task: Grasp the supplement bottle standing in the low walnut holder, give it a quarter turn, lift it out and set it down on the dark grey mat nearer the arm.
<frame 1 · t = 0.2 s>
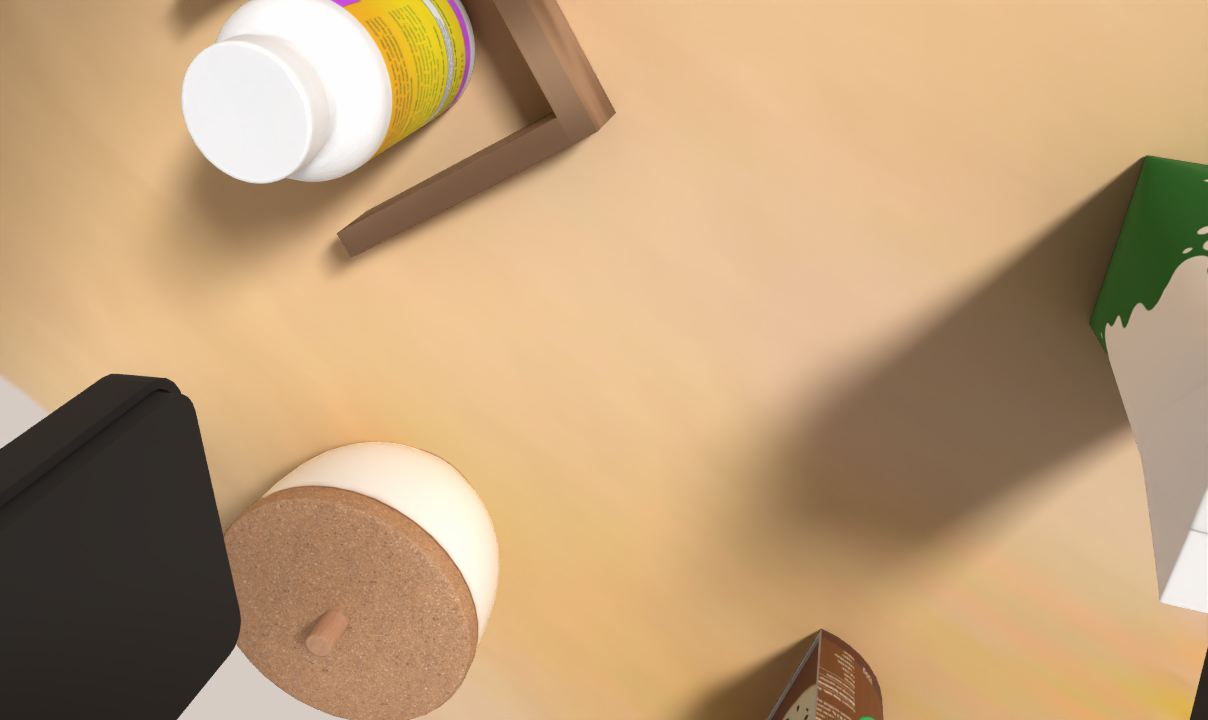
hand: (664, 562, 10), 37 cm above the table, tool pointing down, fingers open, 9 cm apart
lidded bowl: (418, 504, 59), on the table
supplement bottle: (407, 38, 48), on the table
food container: (839, 713, 58), on the table
milk carton: (1207, 258, 43), on the table
holder: (405, 40, 47), on the table
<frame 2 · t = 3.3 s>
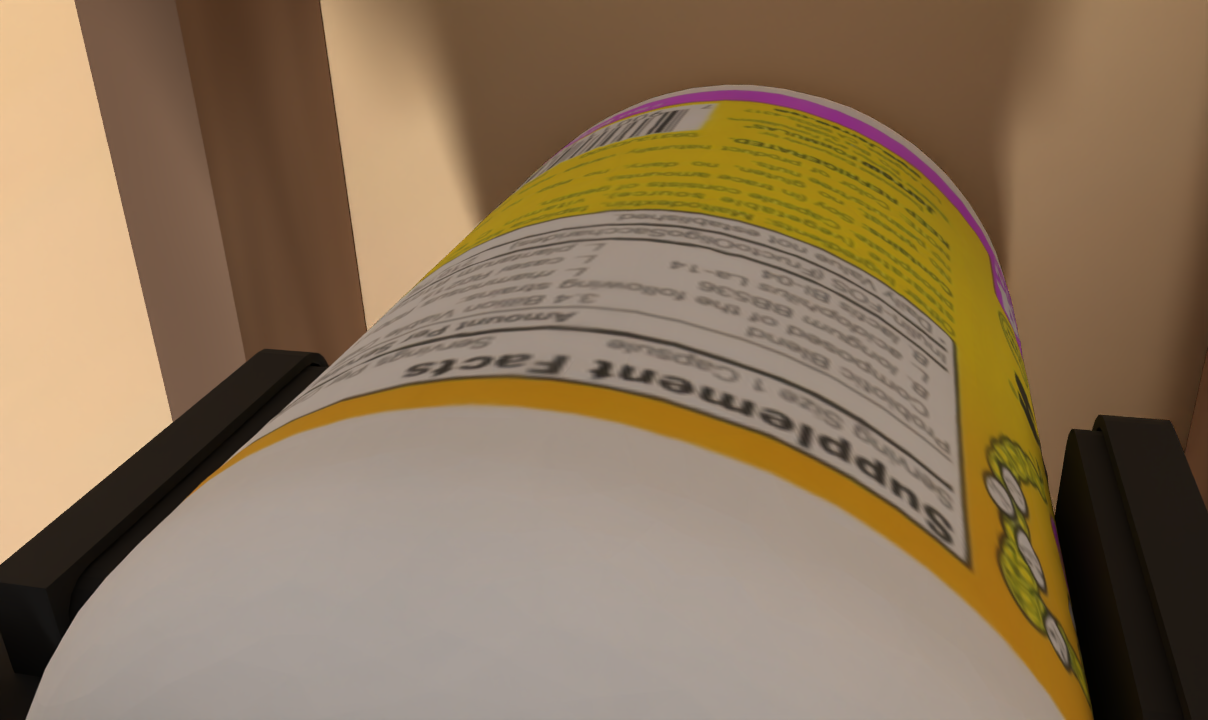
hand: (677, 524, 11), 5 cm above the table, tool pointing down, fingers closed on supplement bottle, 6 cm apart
supplement bottle: (748, 317, 15), on the table, touching gripper
holder: (746, 324, 15), on the table
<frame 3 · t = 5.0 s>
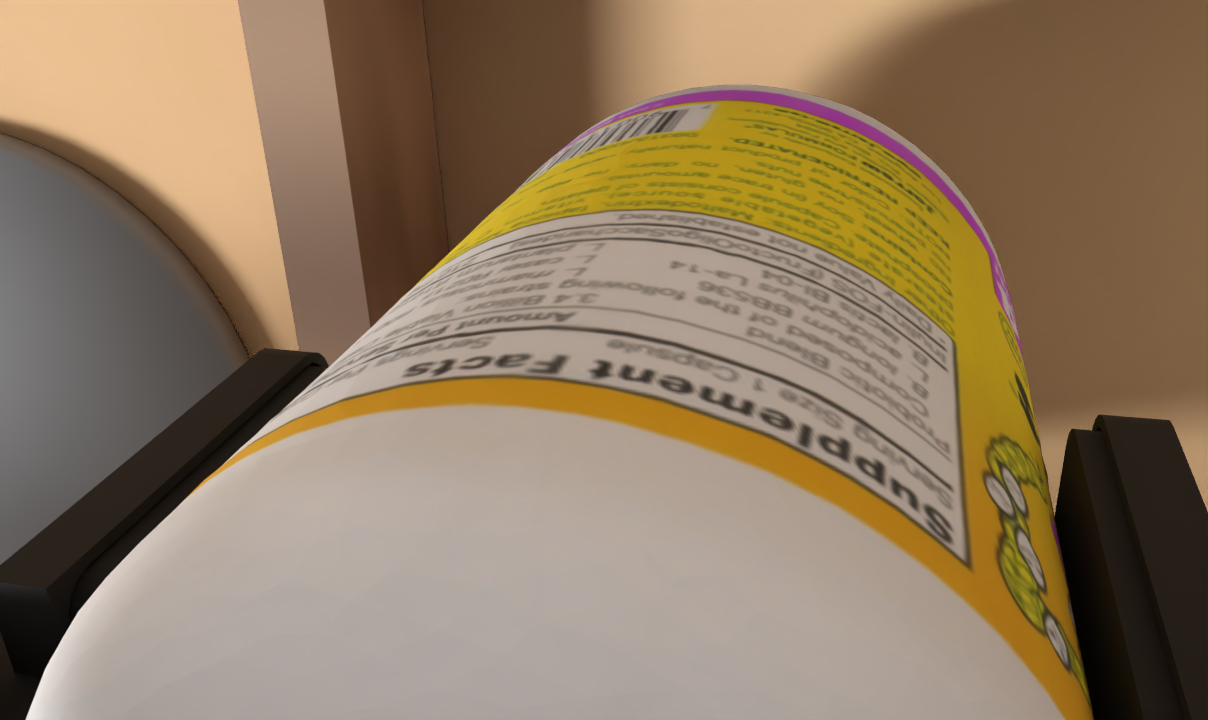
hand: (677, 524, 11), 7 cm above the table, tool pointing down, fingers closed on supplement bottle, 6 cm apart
supplement bottle: (748, 317, 15), point 3 cm above the table, touching gripper
mat: (22, 396, 22), on the table
holder: (785, 244, 17), on the table
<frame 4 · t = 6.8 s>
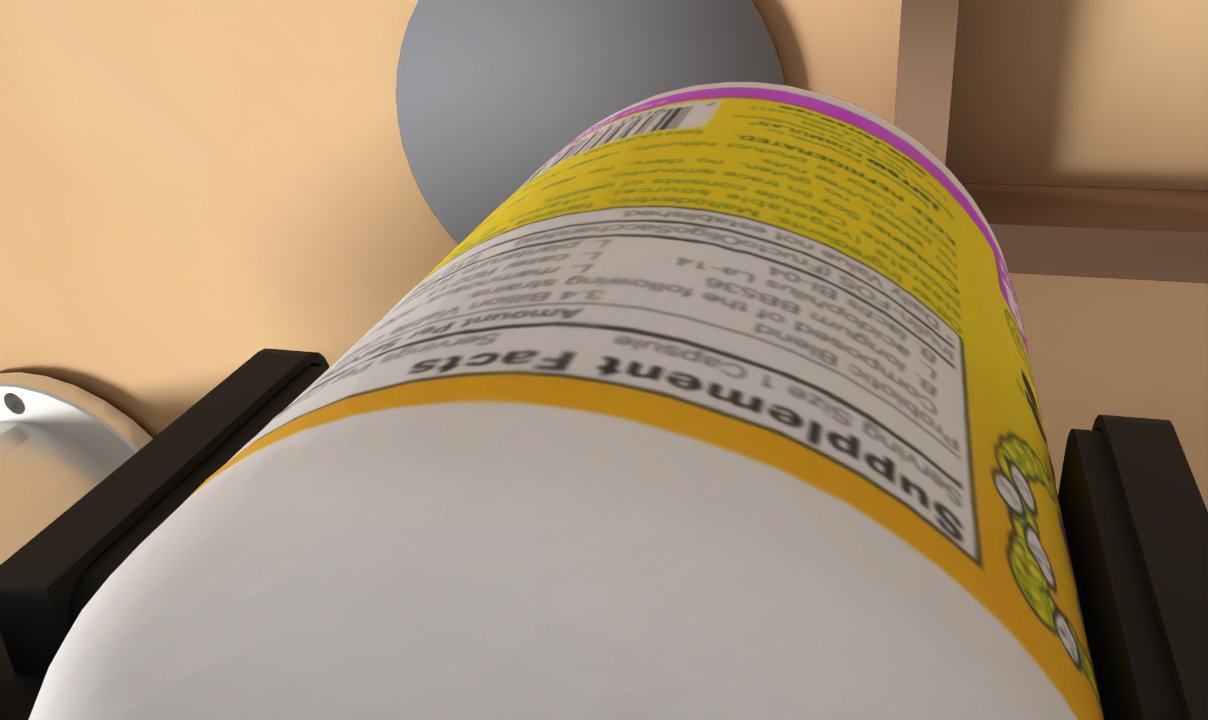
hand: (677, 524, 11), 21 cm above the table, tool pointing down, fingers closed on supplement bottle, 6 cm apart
supplement bottle: (752, 315, 15), point 16 cm above the table, touching gripper
mat: (588, 118, 31), on the table
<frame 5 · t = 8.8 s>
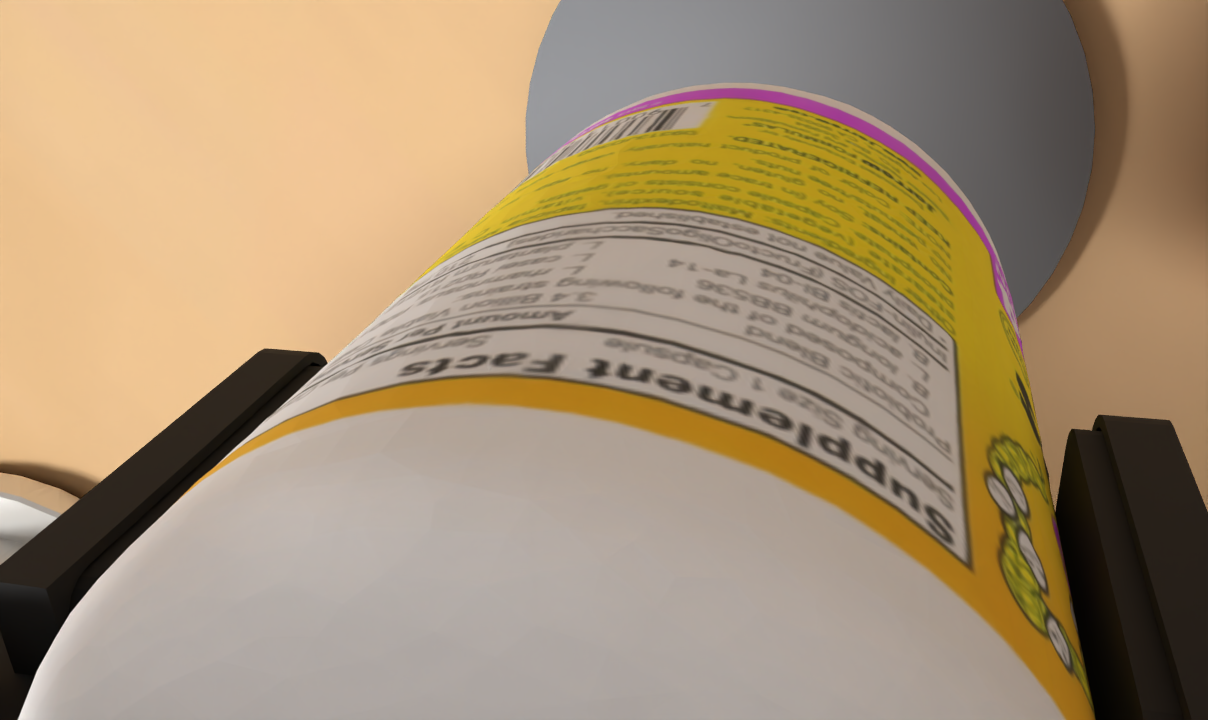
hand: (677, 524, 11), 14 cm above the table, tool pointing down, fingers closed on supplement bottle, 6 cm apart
supplement bottle: (747, 317, 15), point 9 cm above the table, touching gripper
mat: (795, 151, 23), on the table
when the fingers open (7 cm above the table, at t = 10.6 s): supplement bottle drops 1 cm, resting on mat.
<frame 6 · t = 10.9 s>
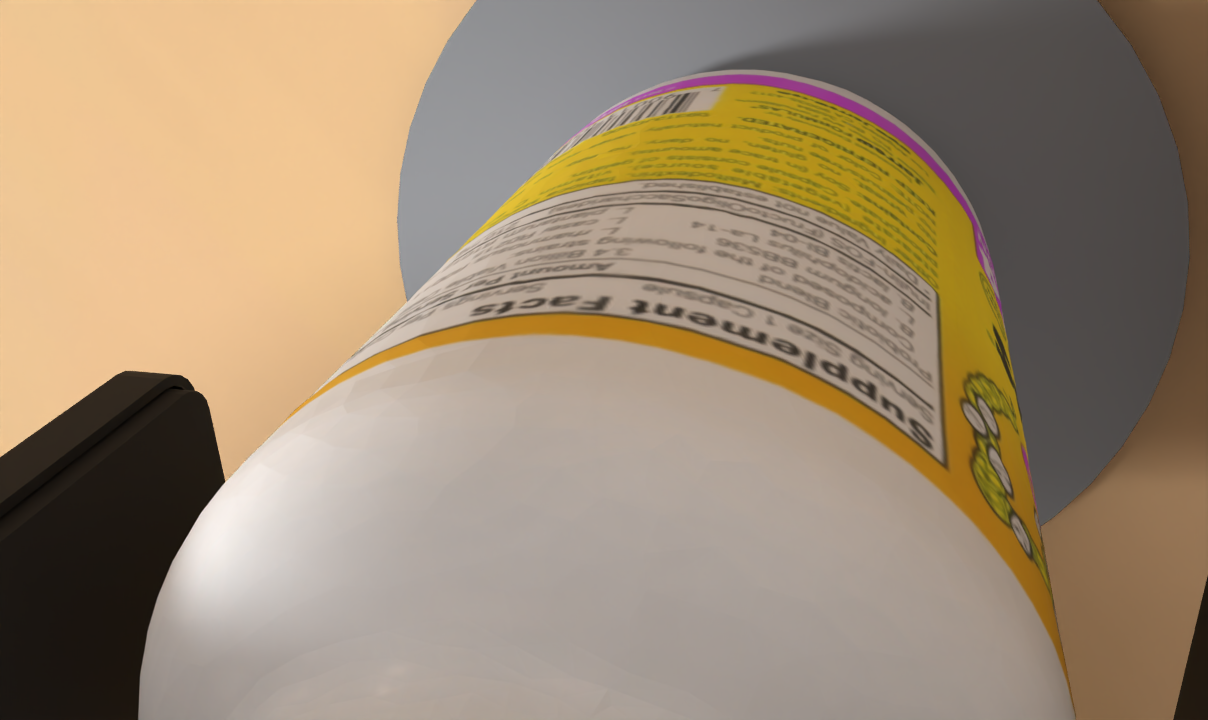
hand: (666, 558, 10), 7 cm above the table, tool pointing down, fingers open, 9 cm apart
supplement bottle: (752, 285, 16), resting on mat
mat: (764, 269, 16), on the table
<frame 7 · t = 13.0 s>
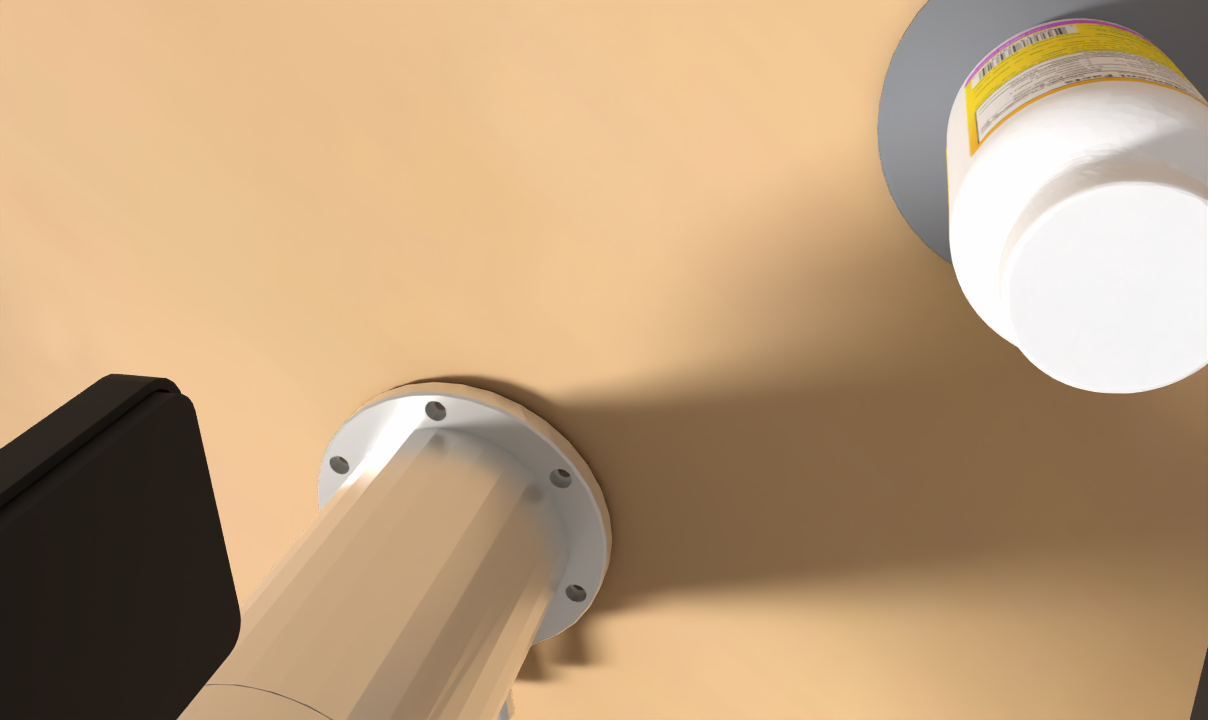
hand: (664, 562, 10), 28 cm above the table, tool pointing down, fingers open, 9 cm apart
supplement bottle: (1062, 124, 34), resting on mat
mat: (1065, 118, 34), on the table
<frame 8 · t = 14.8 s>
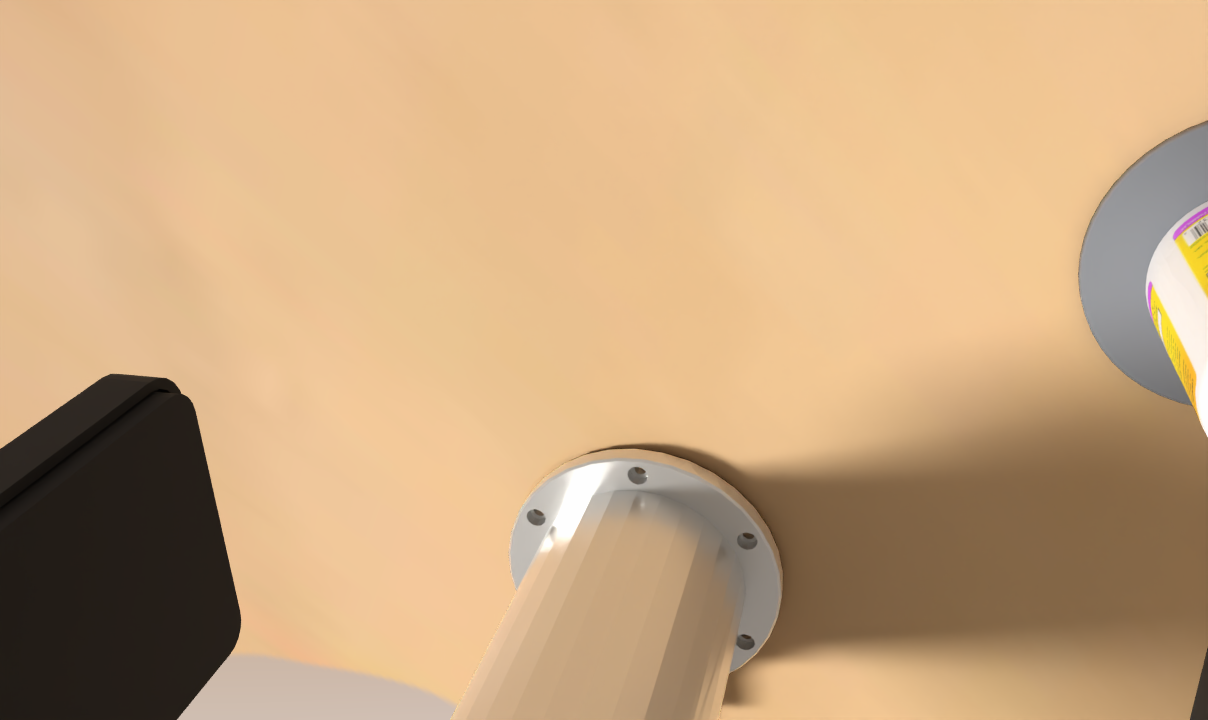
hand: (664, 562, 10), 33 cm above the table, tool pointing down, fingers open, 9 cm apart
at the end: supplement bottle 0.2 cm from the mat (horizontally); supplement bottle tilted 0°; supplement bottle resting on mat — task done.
